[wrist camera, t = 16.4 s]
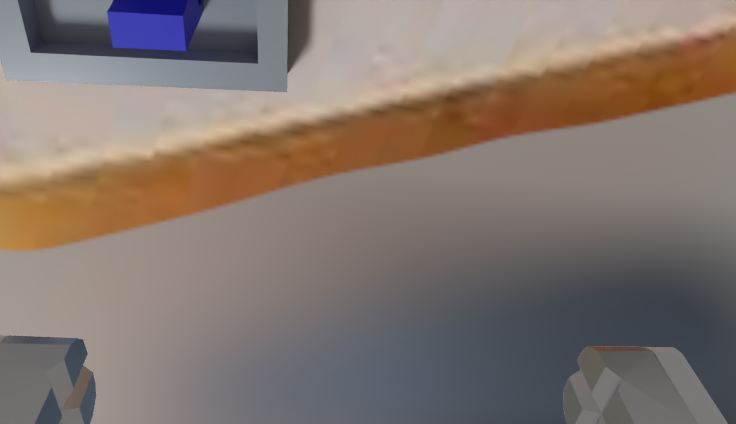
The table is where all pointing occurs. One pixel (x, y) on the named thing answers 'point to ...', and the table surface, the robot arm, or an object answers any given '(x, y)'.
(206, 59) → the tray
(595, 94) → the table surface
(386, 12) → the table surface
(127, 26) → the blue angular stepped piece
